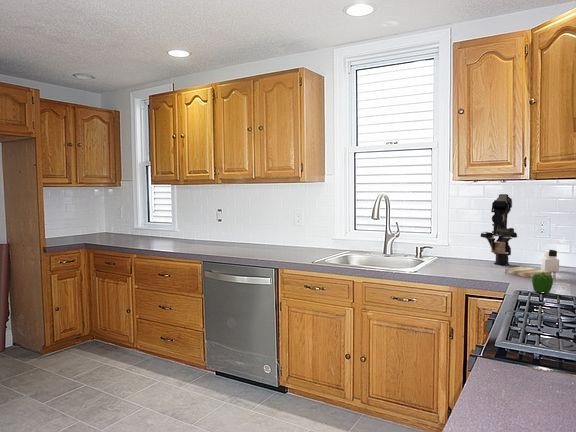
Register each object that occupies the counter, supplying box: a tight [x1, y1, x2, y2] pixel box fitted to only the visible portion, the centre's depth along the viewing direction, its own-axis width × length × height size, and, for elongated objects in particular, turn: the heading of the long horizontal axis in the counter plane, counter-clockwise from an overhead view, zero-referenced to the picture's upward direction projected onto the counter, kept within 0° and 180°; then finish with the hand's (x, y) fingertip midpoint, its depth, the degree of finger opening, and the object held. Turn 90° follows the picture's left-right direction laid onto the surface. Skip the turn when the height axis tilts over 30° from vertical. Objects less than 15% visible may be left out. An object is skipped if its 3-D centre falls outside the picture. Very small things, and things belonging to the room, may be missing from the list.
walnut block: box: [490, 240, 505, 254], centre depth 245 cm, size 5×5×6 cm
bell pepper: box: [531, 272, 554, 294], centre depth 197 cm, size 8×8×10 cm
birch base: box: [504, 266, 553, 279], centre depth 238 cm, size 16×16×2 cm
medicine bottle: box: [540, 249, 560, 273], centre depth 246 cm, size 7×7×12 cm
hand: (498, 249), depth 245 cm, fingers closed on walnut block, 6 cm apart
